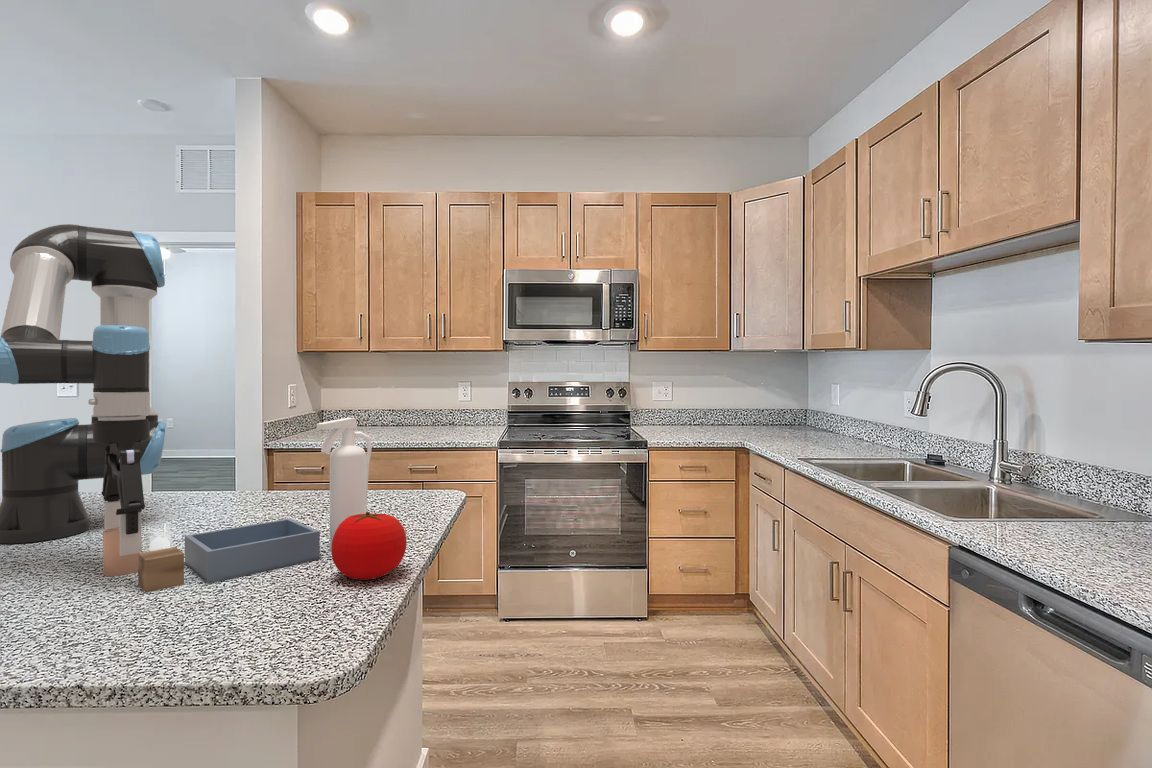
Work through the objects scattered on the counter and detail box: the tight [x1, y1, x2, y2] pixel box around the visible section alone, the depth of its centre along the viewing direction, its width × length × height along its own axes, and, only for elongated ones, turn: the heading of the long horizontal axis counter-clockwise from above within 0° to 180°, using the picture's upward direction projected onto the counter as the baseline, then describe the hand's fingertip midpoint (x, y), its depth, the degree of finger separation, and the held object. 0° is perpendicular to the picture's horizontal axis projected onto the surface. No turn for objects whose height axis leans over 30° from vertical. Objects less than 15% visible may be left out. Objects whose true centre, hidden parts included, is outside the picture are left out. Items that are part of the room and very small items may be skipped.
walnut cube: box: [137, 546, 185, 593], centre depth 93 cm, size 5×5×5 cm
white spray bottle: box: [316, 417, 373, 552], centre depth 113 cm, size 7×12×25 cm, turn 142°
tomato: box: [330, 511, 407, 581], centre depth 98 cm, size 12×12×10 cm
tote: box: [184, 518, 321, 584], centre depth 105 cm, size 14×18×5 cm
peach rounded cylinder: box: [102, 527, 138, 577], centre depth 99 cm, size 5×5×7 cm
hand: (122, 546), depth 99 cm, fingers open, 13 cm apart
